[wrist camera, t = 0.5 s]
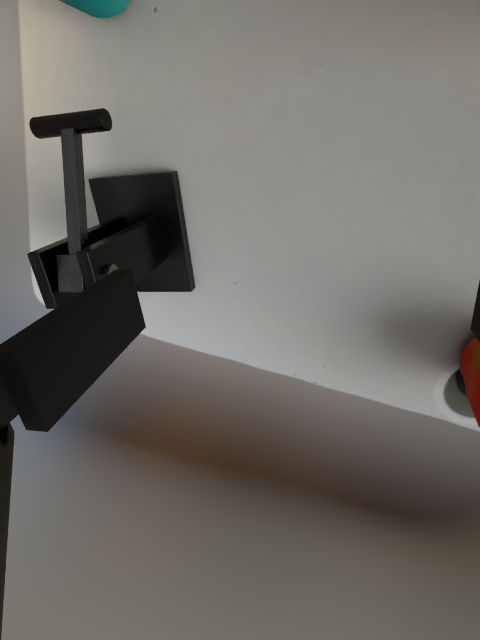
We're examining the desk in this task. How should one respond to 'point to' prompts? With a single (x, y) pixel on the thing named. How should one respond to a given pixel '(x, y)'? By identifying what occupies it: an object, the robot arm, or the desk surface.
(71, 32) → the desk surface
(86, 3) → the beverage can
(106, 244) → the bracket
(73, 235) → the lever
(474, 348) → the apple
